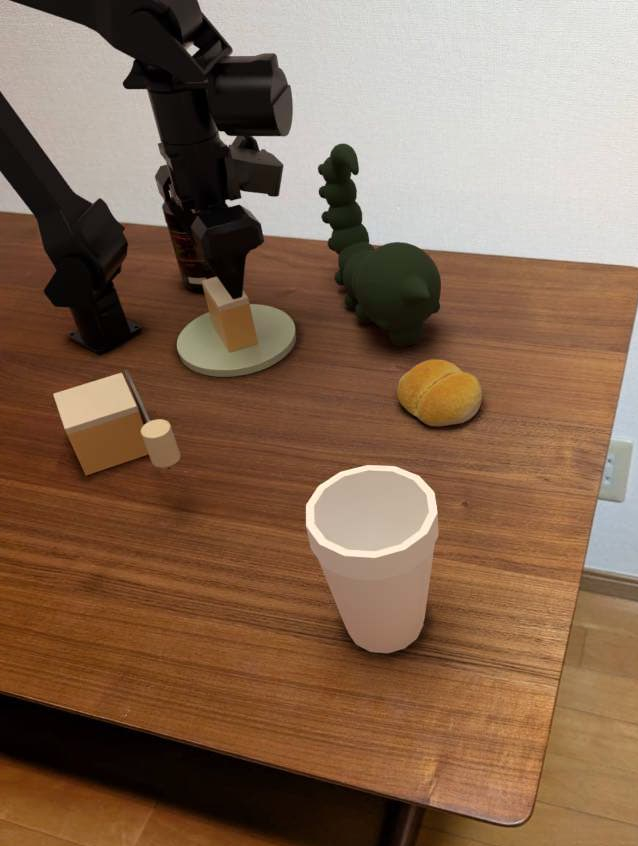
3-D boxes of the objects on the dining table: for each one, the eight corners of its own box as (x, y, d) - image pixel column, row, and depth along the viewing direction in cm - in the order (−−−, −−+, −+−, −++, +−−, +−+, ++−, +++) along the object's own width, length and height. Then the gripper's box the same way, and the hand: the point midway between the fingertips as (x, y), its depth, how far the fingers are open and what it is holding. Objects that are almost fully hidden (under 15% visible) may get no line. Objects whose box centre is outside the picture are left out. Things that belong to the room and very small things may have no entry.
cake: (73, 440, 88) (52, 393, 83) (138, 418, 89) (121, 372, 85) (85, 475, 83) (64, 428, 79) (153, 452, 85) (136, 405, 81)
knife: (129, 416, 89) (102, 344, 83) (152, 408, 90) (127, 336, 83) (172, 515, 78) (144, 441, 72) (198, 505, 79) (173, 431, 72)
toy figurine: (316, 297, 108) (395, 380, 90) (287, 142, 95) (373, 204, 78) (381, 277, 110) (471, 355, 93) (362, 124, 98) (462, 181, 80)
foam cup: (328, 584, 72) (306, 471, 62) (434, 573, 72) (429, 458, 62) (330, 675, 65) (306, 564, 56) (447, 663, 65) (443, 550, 56)
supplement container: (239, 267, 111) (222, 190, 104) (228, 293, 107) (210, 214, 99) (190, 268, 112) (169, 191, 104) (177, 294, 107) (155, 216, 100)
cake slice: (213, 326, 100) (201, 280, 95) (240, 318, 100) (230, 272, 96) (229, 352, 95) (218, 306, 91) (258, 343, 96) (248, 297, 92)
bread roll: (442, 440, 84) (441, 409, 81) (386, 402, 89) (383, 371, 86) (500, 405, 87) (501, 373, 84) (443, 369, 92) (442, 338, 89)
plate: (154, 351, 98) (151, 344, 98) (240, 299, 105) (238, 292, 105) (235, 391, 92) (233, 384, 91) (320, 333, 99) (319, 325, 98)
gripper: (299, 145, 78) (322, 296, 89) (237, 89, 90) (264, 228, 101) (184, 174, 75) (223, 326, 86) (135, 112, 87) (175, 253, 98)
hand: (224, 279), depth 93 cm, fingers open, 9 cm apart
